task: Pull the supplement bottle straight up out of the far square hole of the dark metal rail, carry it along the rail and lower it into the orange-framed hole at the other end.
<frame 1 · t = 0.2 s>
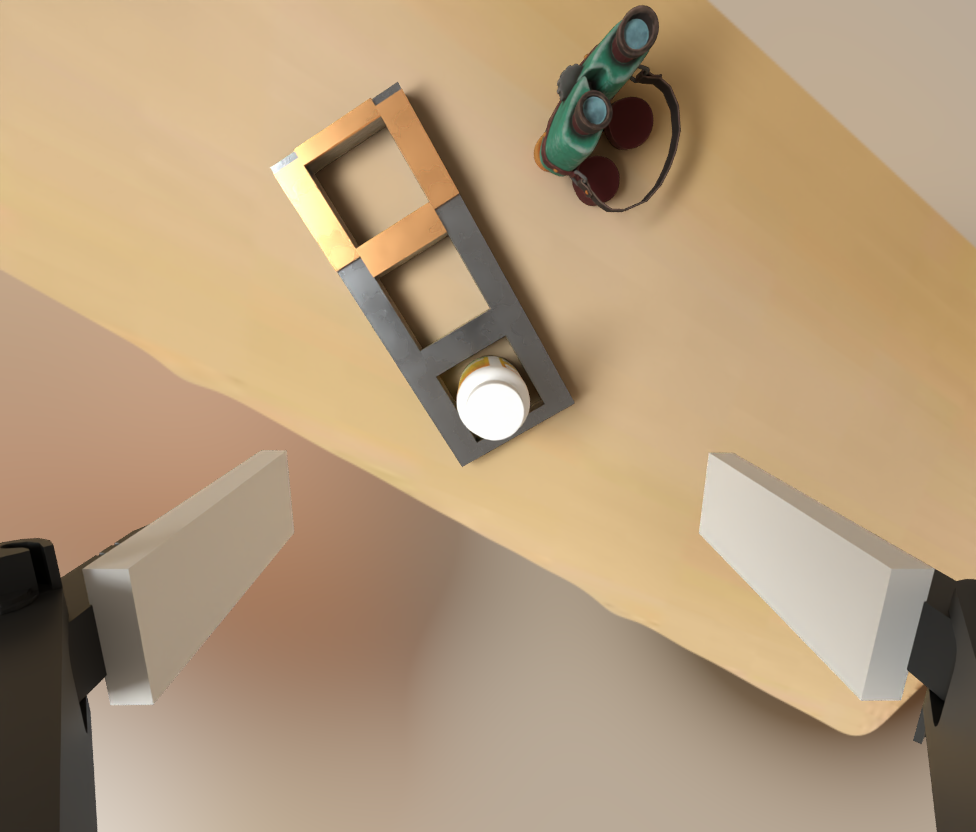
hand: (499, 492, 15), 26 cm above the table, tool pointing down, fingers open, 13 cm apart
supplement bottle: (490, 385, 41), resting in hole rail
hole rail: (435, 293, 38), on the table
binoculars: (599, 148, 36), on the table
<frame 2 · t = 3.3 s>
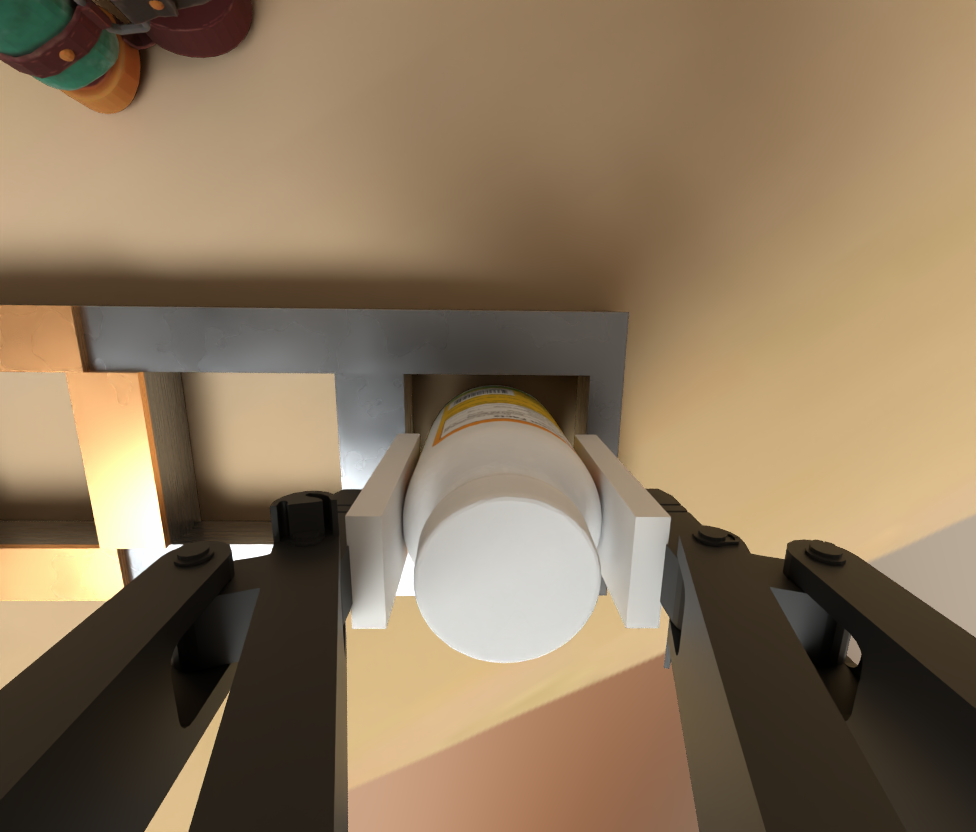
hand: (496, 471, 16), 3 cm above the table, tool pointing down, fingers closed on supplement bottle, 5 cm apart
supplement bottle: (494, 446, 19), resting in hole rail, touching gripper
hole rail: (272, 446, 19), on the table
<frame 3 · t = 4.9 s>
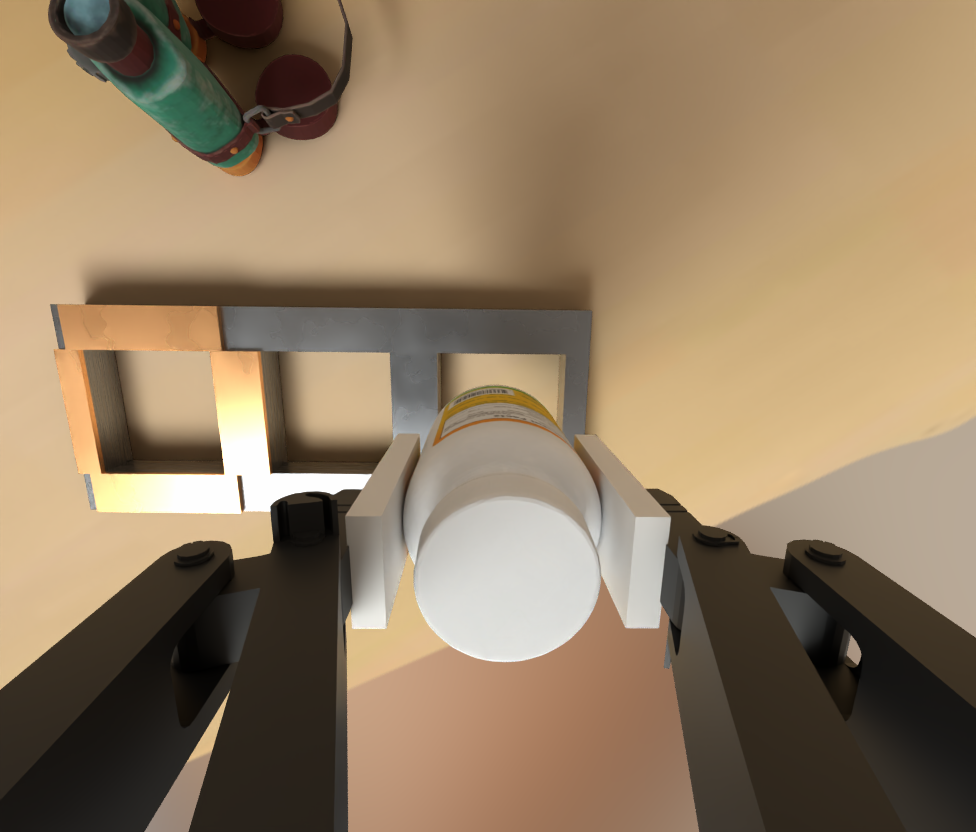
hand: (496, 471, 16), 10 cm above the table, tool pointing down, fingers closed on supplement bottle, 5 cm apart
supplement bottle: (494, 445, 19), point 7 cm above the table, touching gripper
hole rail: (341, 406, 26), on the table
binoculars: (263, 70, 23), on the table
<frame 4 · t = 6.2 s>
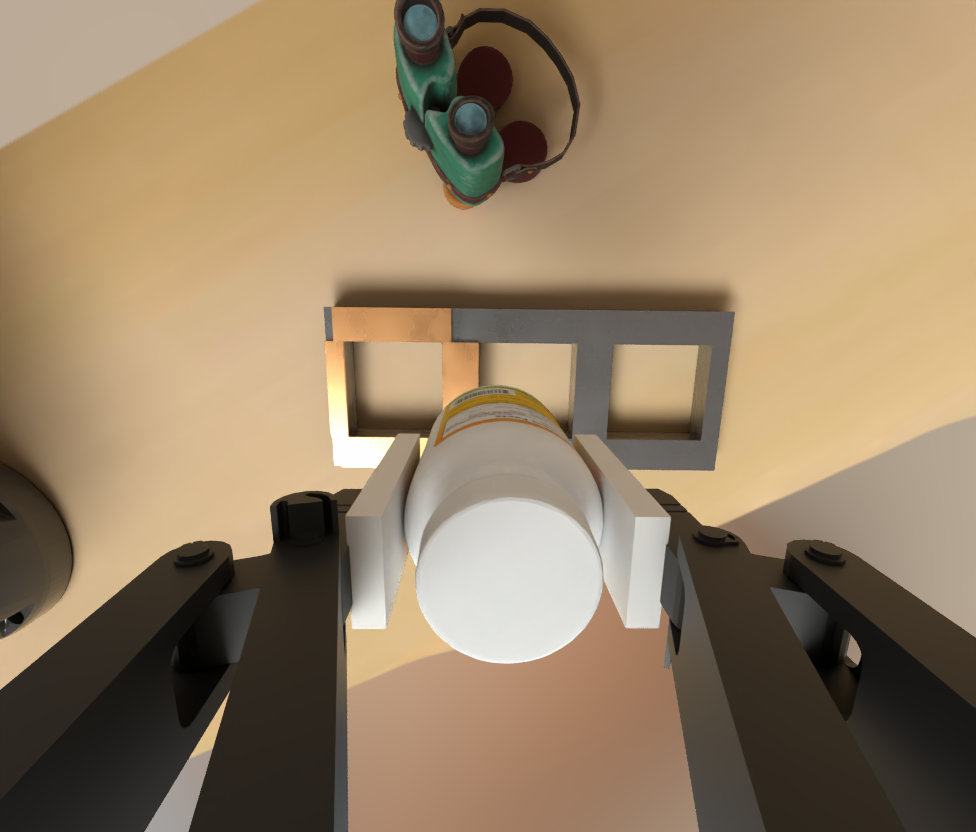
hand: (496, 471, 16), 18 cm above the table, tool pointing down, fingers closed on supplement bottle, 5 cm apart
supplement bottle: (495, 446, 19), point 15 cm above the table, touching gripper
hole rail: (524, 386, 34), on the table
binoculars: (487, 129, 30), on the table
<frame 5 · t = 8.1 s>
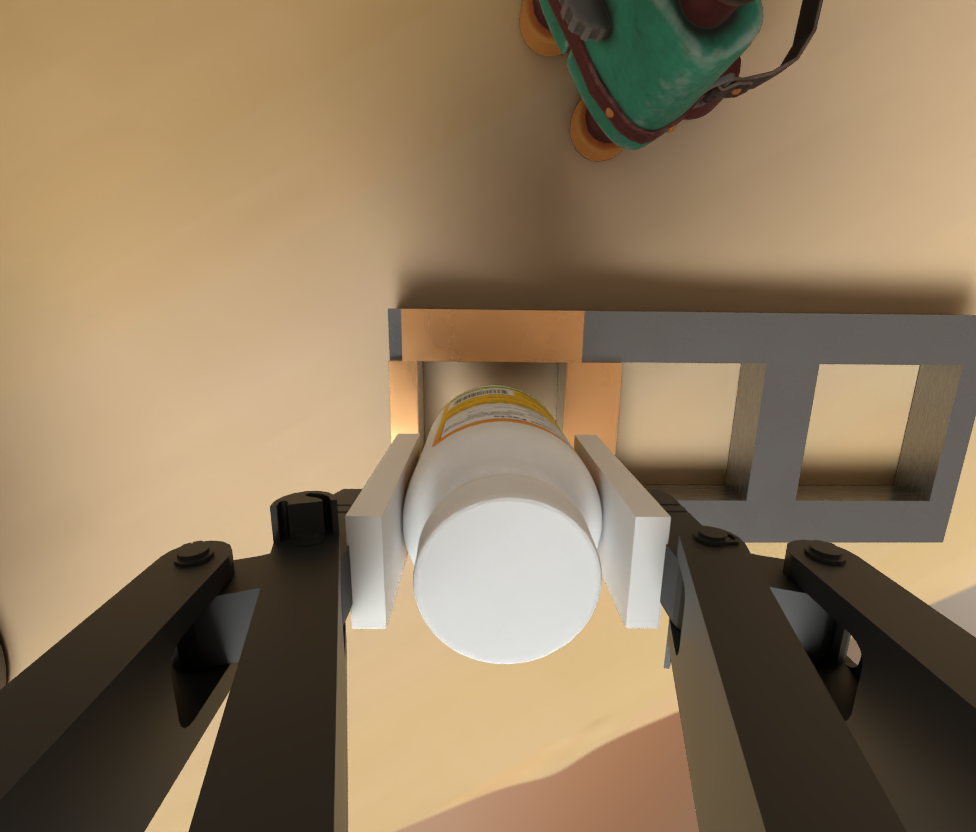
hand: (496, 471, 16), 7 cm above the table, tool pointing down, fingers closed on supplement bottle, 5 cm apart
supplement bottle: (494, 446, 19), point 4 cm above the table, touching gripper
hole rail: (668, 423, 23), on the table
binoculars: (638, 38, 20), on the table
when the fingers open (4 cm above the table, at t = 9.5 s): supplement bottle stays where it is, resting in hole rail.
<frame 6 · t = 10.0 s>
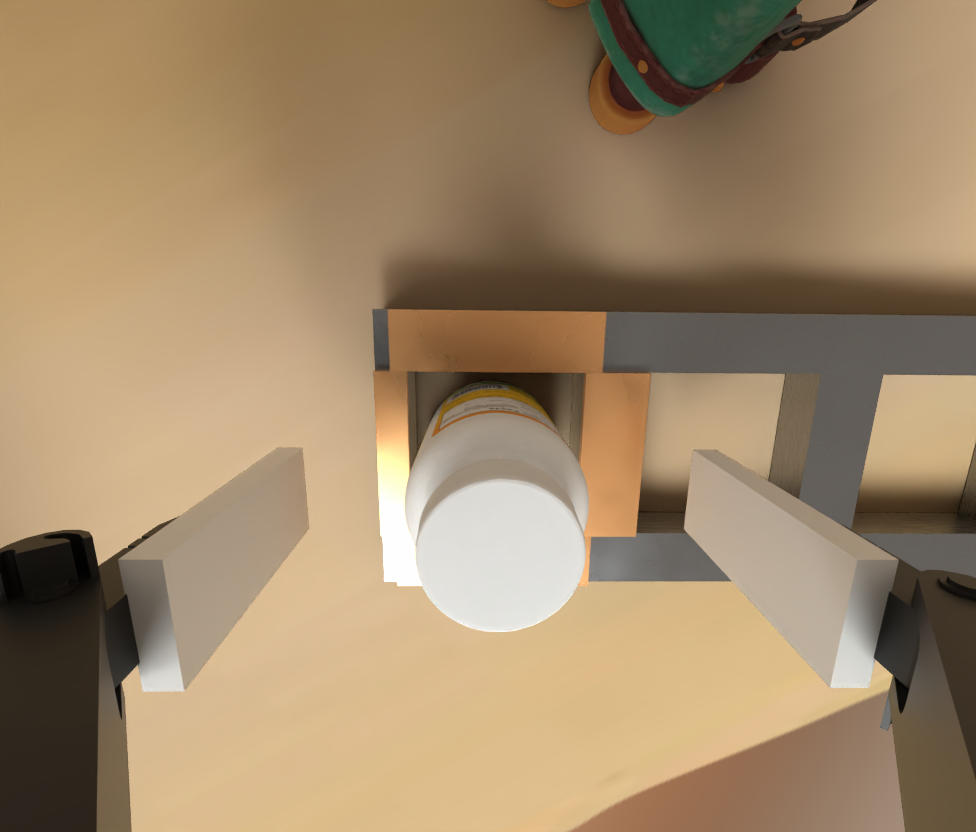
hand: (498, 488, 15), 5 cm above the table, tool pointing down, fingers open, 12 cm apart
supplement bottle: (490, 439, 20), resting in hole rail
hole rail: (700, 442, 20), on the table
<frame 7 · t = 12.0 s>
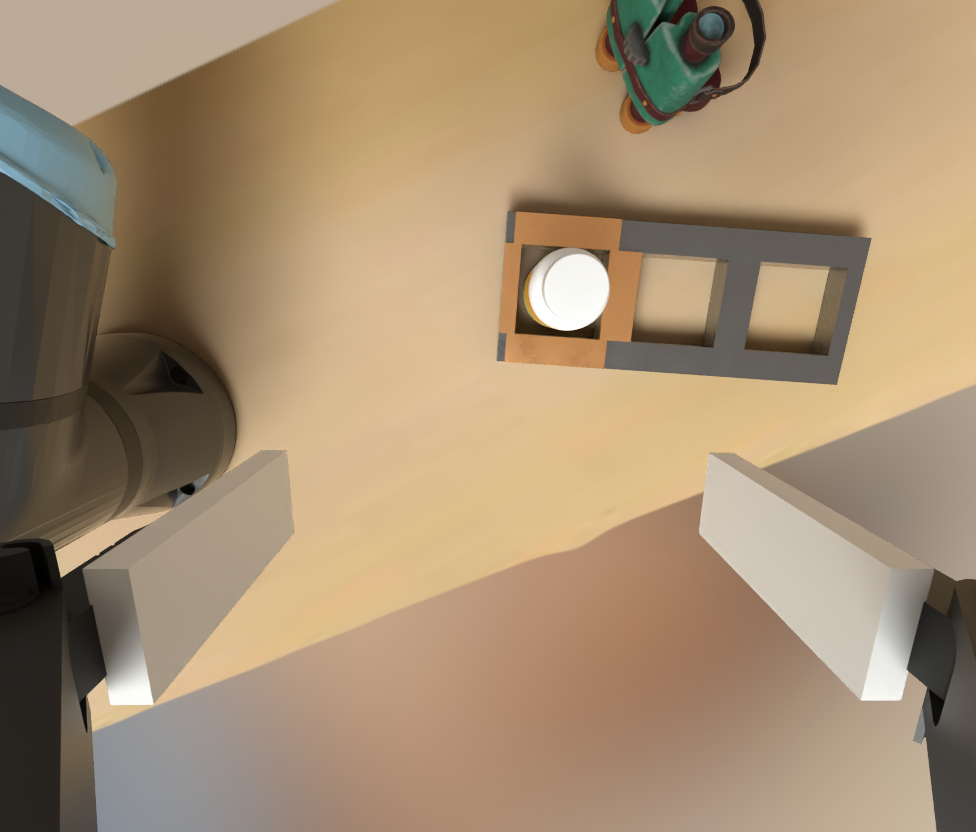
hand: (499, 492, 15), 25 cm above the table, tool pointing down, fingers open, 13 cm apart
supplement bottle: (555, 293, 38), resting in hole rail
hole rail: (668, 301, 38), on the table
binoculars: (663, 63, 34), on the table
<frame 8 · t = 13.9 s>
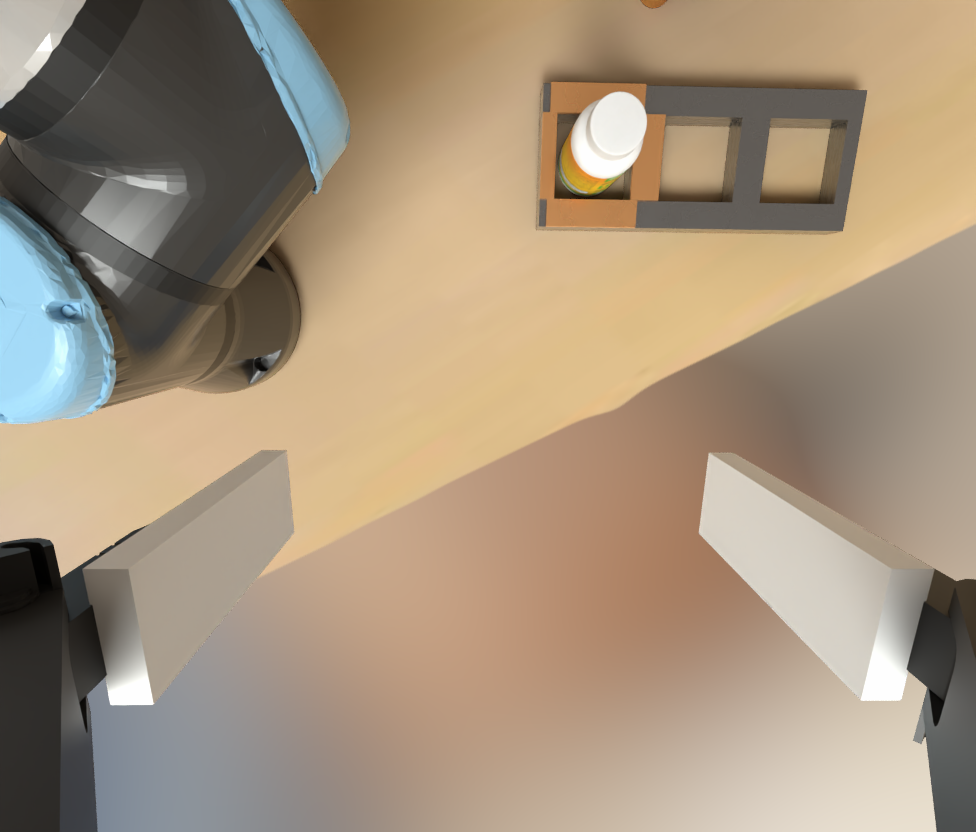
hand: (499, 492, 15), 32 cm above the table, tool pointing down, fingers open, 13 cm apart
supplement bottle: (586, 165, 42), resting in hole rail
hole rail: (688, 166, 42), on the table
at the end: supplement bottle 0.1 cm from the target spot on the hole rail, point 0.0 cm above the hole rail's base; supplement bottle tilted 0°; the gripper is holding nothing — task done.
